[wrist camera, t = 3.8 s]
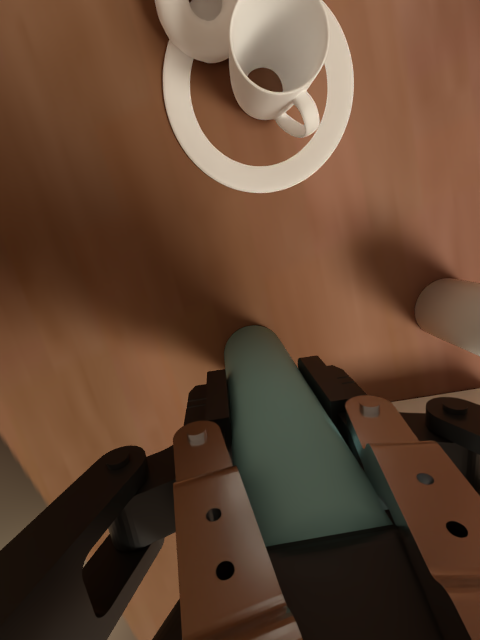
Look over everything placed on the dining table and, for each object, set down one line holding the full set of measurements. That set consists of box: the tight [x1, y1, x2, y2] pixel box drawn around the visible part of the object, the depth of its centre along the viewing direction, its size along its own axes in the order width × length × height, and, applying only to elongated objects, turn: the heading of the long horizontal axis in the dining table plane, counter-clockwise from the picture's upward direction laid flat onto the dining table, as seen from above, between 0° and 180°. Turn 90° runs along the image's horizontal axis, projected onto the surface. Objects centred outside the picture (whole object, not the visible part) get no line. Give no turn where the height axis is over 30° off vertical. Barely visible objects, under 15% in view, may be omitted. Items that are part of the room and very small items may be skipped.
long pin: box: [224, 325, 393, 547], centre depth 11 cm, size 3×3×11 cm
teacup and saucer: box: [155, 0, 354, 193], centre depth 11 cm, size 9×8×4 cm
